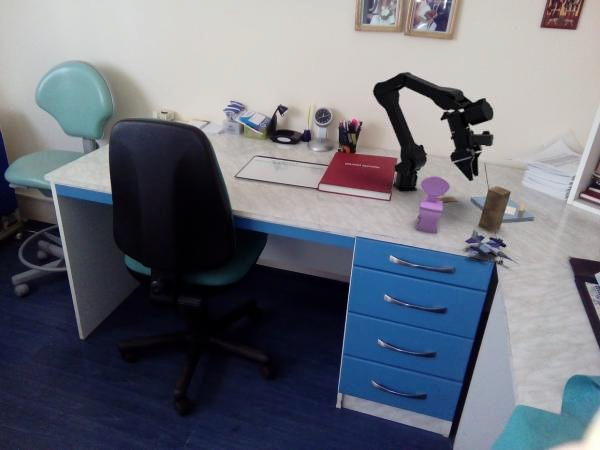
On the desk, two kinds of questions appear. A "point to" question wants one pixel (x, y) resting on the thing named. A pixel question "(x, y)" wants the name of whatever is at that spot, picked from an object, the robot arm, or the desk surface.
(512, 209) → the board
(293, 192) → the desk surface
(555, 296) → the desk surface
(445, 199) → the wing slat
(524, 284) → the desk surface
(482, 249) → the toy airplane
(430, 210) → the toy chair
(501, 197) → the block
